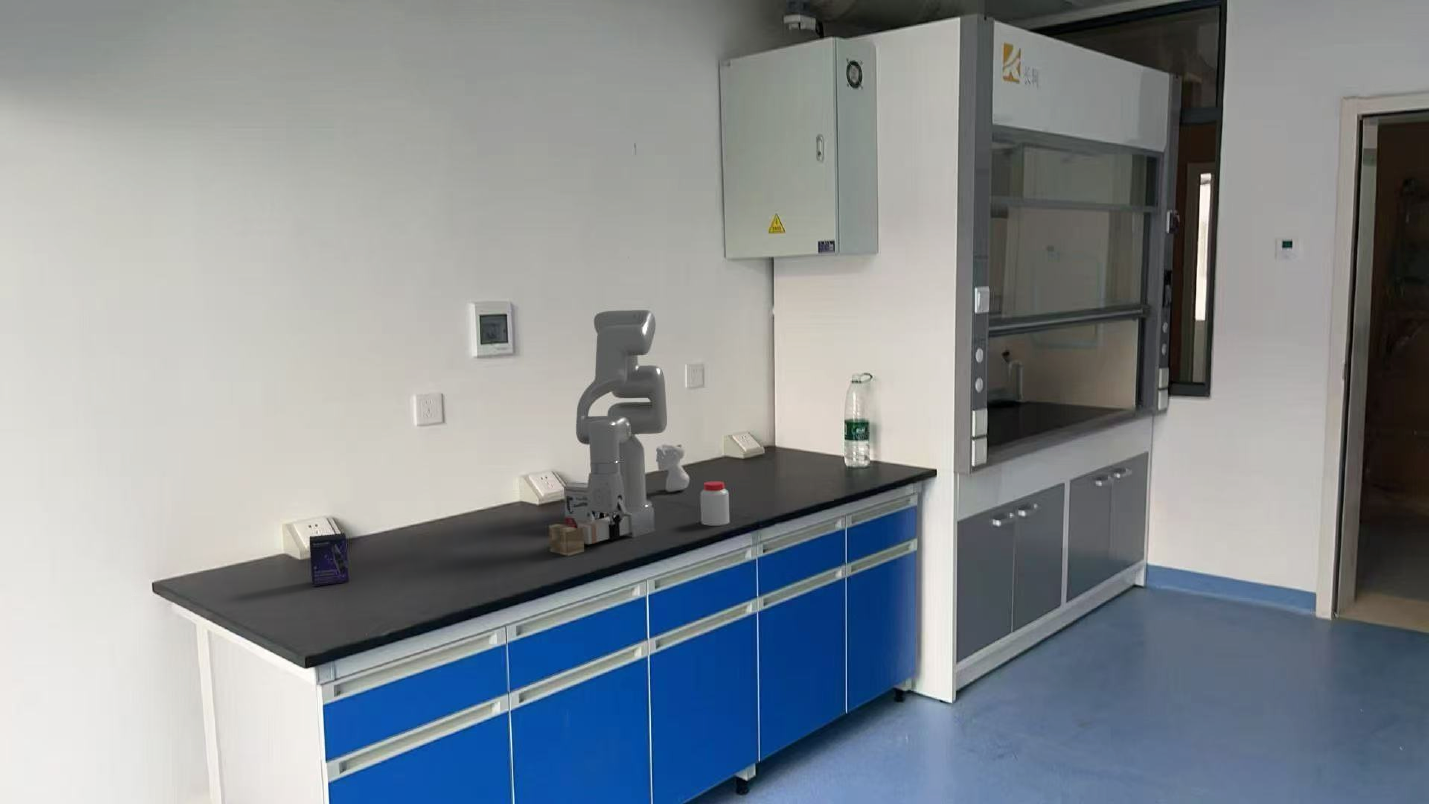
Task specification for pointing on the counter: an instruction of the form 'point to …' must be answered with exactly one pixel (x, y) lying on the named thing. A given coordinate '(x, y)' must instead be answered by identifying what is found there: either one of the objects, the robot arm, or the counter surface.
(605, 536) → the light grey bar
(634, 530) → the sleeve
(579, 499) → the ink box
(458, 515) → the counter surface
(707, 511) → the pill bottle
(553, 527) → the crate
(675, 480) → the white bust sculpture
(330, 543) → the box
